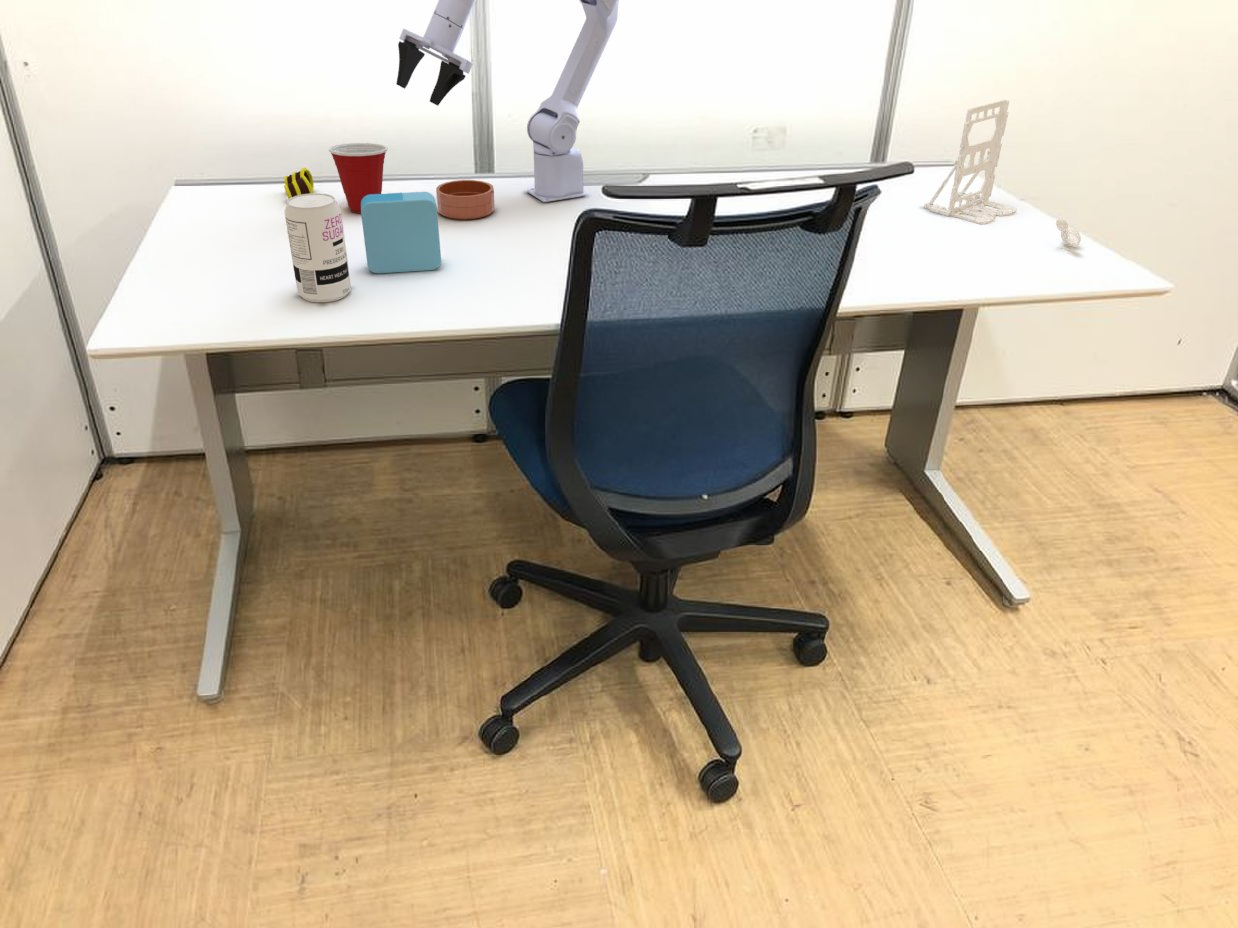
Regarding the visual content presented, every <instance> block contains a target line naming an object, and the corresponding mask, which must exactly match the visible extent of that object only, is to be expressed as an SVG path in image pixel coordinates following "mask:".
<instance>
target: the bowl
mask: <svg viewBox="0 0 1238 928" xmlns="http://www.w3.org/2000/svg"><path fill="white" fill-rule="evenodd" d="M435 191H436V192H435V193H436V206H437V213H439V214H440V215H442V216H443V217H446V218H449V219H454V220H461V221H464V220H465V221H466V220H467V221H468V220H476V219H481V218H485V217H487V216H489V215H490V214H492V213H493V212H494V211H495V209H496V205H495V189H494V185H493V184H491V183H489V182H487V181H483V180H475V179H458V180H451V181H446V182H443V183H441V184H439V185H438V186H436V187H435Z"/></svg>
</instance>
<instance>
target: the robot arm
mask: <svg viewBox="0 0 1238 928" xmlns="http://www.w3.org/2000/svg"><path fill="white" fill-rule="evenodd" d="M476 1H477V0H438V1H437V4H436V6H435V8H434V10H433V14H432V16H431V18H430V21H429V23H428V25H427V27H426V30H425V32H424V35H423V36H421V35H419V34H417V33H414V32H412V31H410V30H408V29H406V28H402V31H401V33H400V36H399V41H398V44H397V46H398V47H397V48H398V59H399V60H398V71H397V78H396V83H395V84H396V85H397V86H399V87H401V88H402V89H406V88H407V86H408V85H409V82H410V80H411V78H412V75H413V74H414V71H415V70H416V68H417V66H418V65H419V63H421V61H422V59H423V58H424V57H425V55H426V54H429V56H432V57H434V58H436V59H438V60H441V62H440V67H439V71H438V76H437V79H436V82H435V84H434V87H433V90H432V93H431V94H430V98H429V102H430V103H431V104H434V105H435V106H437V107H439V105H440V104H441V103H442V101H443V100H444V98H445V97H447V95H448V94H449V92H451V91H452V89H454V88H455V87H456V86H457V85H459V84H460V83H461V82H462V81H464V80H465V79H466V75H465V74H467V75H469V74H470V72H471V71H472V70H471V69H472V68H473V65H474V63H473V62H472V61H470V60H468V59H466V58H465V57H462V56H461V55H458V54H457V53H455V51H456V48H457V46H458V43H459V42H460V39H461V38H462V37H461V36H462V34H463V32H464V29H465V27H466V25H467V23H468V21H469V19H470V16H471V14H472V11H473V9H474V7H475V4H476ZM578 1H579V2H580V5H581V6H582V9H583V12H584V14H585V21H584V23H583V25H582V27H581V29H580V32H579V34H578V36H577V38H576V40H575V43H574V45H573V47H572V49H571V51H570V54H569V55H568V59H567V60H566V62H565V64H564V67H563V69H562V72H561V73H560V76H559V78H558V80H557V83H556V85H555V87H554V89H553V91H552V93H551V95H550V96H549V97H548V98H546V99H544V100H543V101H542V102H541V103H540V104H539V107H538V109H537V110H536V111H535V112H534V113H533V114H532V115H531V116H530V117H529V119H528V120H527V124H526V133H527V135H528V138H529V139H530V140H531V141H532V147H533V174H534V175H533V176H534V177H533V178H534V180H533V181H534V188H529V189H527V190H526V193H528V194H529V195H531V196H533V197H534V198H536V199H538V200H539V201H541V202H543V203H548V202H556V201H562V200H568V199H573V198H580V197H585V196H586V193H585V192H584V160H583V156H582V153H581V152H580V150H579V149H578V148H576V147H574V146H575V143H576V141H577V131H578V127H579V124H580V122H581V120H580V116H579V113H578V108H579V105H580V103H581V100H582V99H583V96H584V94H585V92H586V90H587V87H588V85H589V83H590V81H591V79H592V77H593V74H594V72H595V71H596V68H597V66H598V65H599V62H600V60H601V58H602V55H603V53H604V51H605V49H606V46H607V44H608V41H610V37H611V35H612V34H613V31H614V29H615V27H616V24H617V21H618V13H619V0H578ZM400 40H401V41H400ZM430 49H431V50H433V51H435V52H437V53H439V54H441V55H439V54H437V53H435V52H433V51H431V50H430ZM424 52H425V53H426V54H425V53H424ZM464 73H465V74H464Z"/></svg>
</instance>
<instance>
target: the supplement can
mask: <svg viewBox="0 0 1238 928" xmlns="http://www.w3.org/2000/svg"><path fill="white" fill-rule="evenodd" d="M284 219H285V225H286V231H287V236H288V243H289V248H290V255H291V260H292V267H293V273H294V278H295V285H296V292H297V294H298V295H299V296H300V297H301V298H303V299H304V300H305V301H308V302H311V303H331V302H335V301H338V300H341V299H343V298H345V297H347V295H348V294H349V292H350V291H351V290H352V284H351V277H350V275H351V274H350V269H349V268H350V267H349V262H348V261H349V260H348V253H347V245H346V240H345V239H346V238H345V231H344V223H343V218H342V210H341V206H340V205H339V203H338V201H336V197H335V196H333V195H331V194H329V193H320V192H316V193H315V192H314V193H310V194H302V195H298V196H294V197H292V198H290V199H289V198H288V199H287V201H286V206H285V208H284Z"/></svg>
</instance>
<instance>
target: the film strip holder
mask: <svg viewBox="0 0 1238 928" xmlns="http://www.w3.org/2000/svg"><path fill="white" fill-rule="evenodd" d="M1009 104H1010V100H1008V99H1002V100H998V101H995V102H991V103H987V104H983V105H978V106H975V107H971V108H968V109H967V113H966V116H965V122H964V125H963V130H962V134H961V135H962V136H961V139H960V140H961V141H960V146H959V154H958V155H957V159H956V160H955V161H954V166H953V167H952V169H951V171H950V172H949V173H948V175H947V177H945V178H944V180H943V182H942V183H941V184H940V185H939V188H938V189H937V190H936V192H935V193H934V195H933V196H932V198H931V199H930V201H929V202H926V203H924V206H923V208H924V209H927V210H930V212H932V213H935V214H939V215H943V216H946V217H954V218H956V219H960V220H964V221H968V222H970V223H974V224H978V225H989V224H993V223H994V222H996V216H997V217H1004V216H1006V217H1008V216H1013V215H1015V214H1018V212H1017V208H1015V207H1012V206H1008V205H1005V204H1003V203H999V202H996V201H992V200H990V197H991V196H992V192H993V187H994V182H995V179H996V174H995V170H996V168H997V167H998V164H999V159H1000V154H1001V150H1002V137H1004V135H1005V131H1006V126H1007V122H1008V116H1009V112H1008V109H1009ZM997 108H999V109H998V113H995V110H996V109H997ZM990 110H991V114H990V115H988V113H989V111H990ZM982 112H983V115H982V116H983V117H980V118H979V116H980V113H982ZM975 114H976V115H975ZM973 115H975V119H972V117H973ZM991 119H995V120H994V121H995V122H994V123H995V129H994V132H993V134H992V136H991V137H990V139H989V140H986V141H982V142H979V143H975V144H971V145H970V143H969V134H970V132H971V130H972V128H973V126H974V124H977V123H980V122H984V121H988V120H991ZM988 149H989V150H988ZM986 151H987V155H986V157H985V154H986ZM979 152H980V153H979ZM977 153H979V157H978V160H977V163H975V158H976V155H977ZM967 156H969V161H968V163H967V166H966V167H965V161H966V159H967V158H966V157H967ZM983 171H984V181H983V182H982V185H981V188H980V189H979V190H977V191H975V192H972V191H971V192H969V193H966V192H967V190H968V189H969V188H970V186H971V185H972V184H973V182H974V180H975V179H976V178H977V176H978V175H979V173H980V172H983ZM953 174H954V178H953V185H952V188H951V193H950V198H949V204H948V210H947V208H946V206H944V205H940V204H934V203H935V201H936V200H937V198H938V197H939V195H940V194H941V193H942V191H943V190H944V188H945V187H946V185H947V184H948V182H949V180H950V179H951V177H952V175H953ZM970 175H971V177H970V179H969V180H968V182H967V183H966V184H965V186H964V187H963V189H962V190H961V191H959V187H960V185H961V183H962V180H963V179H964V178H965V177H966V176H970ZM963 200H965V203H964V204H962V203H963ZM957 202H958V206H956V203H957ZM985 206H986V207H985ZM990 207H992V208H990ZM993 208H994V209H993ZM996 209H997V210H996ZM963 214H964V215H963ZM966 215H970V216H972V217H969V216H966ZM973 217H974V218H973Z"/></svg>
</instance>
